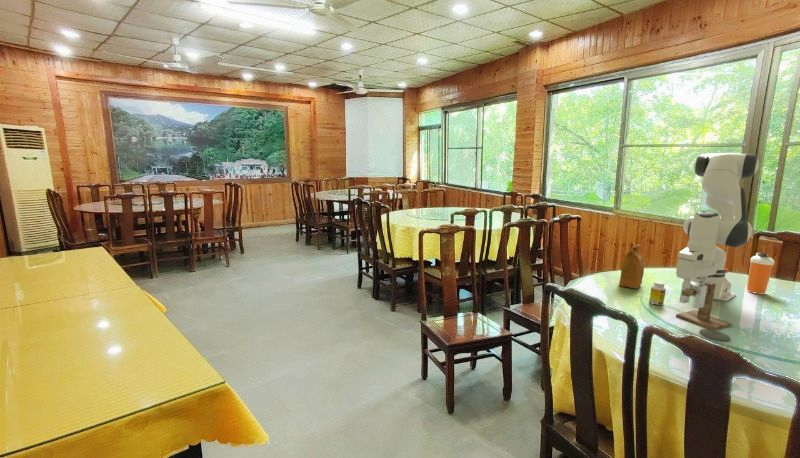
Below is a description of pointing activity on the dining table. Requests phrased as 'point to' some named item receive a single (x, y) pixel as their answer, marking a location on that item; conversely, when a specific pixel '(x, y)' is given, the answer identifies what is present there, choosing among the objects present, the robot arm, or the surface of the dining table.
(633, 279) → the coffee package
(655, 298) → the supplement bottle
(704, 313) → the hook stand
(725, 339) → the felt pad
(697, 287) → the c link
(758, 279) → the shaker bottle
